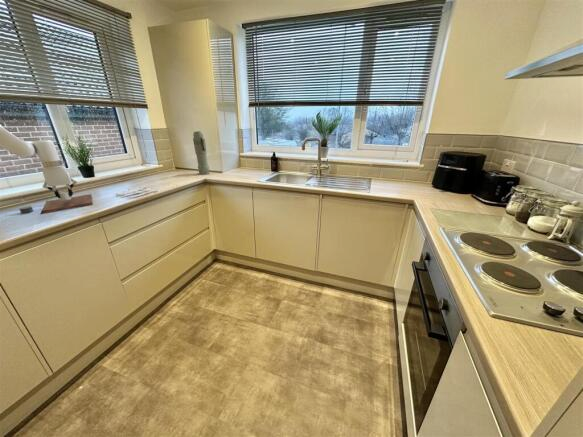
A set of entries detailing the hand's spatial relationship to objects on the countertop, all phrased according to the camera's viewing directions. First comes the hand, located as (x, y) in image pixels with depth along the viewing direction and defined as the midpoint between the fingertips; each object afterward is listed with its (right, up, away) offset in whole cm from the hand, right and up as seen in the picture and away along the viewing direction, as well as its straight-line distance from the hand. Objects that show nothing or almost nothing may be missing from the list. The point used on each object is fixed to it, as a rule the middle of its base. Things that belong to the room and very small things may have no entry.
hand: (65, 196), depth 135 cm
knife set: (+30, +6, +26) cm, 40 cm away
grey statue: (+52, +27, +75) cm, 95 cm away
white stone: (0, -2, 0) cm, 2 cm away
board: (0, -4, +2) cm, 5 cm away
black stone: (-6, -11, -13) cm, 18 cm away
